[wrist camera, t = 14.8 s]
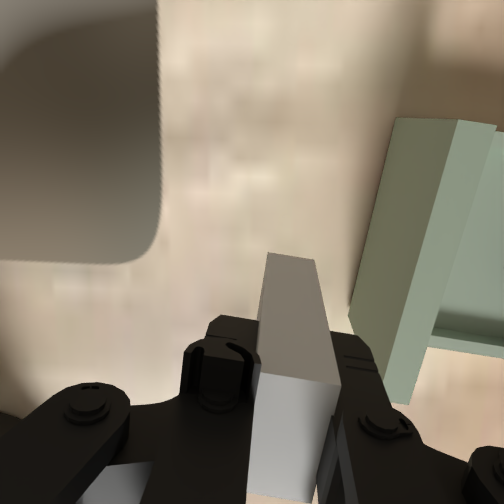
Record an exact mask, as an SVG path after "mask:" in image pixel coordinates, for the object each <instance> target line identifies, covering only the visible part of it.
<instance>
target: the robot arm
mask: <svg viewBox="0 0 504 504" xmlns="http://www.w3.org/2000/svg"><path fill="white" fill-rule="evenodd" d="M374 361H375V360H374V357H373V354H372V352H371V349H370V347H369V346H368V345H367V344H366V343H365V342H364V341H363V340H362V339H361V338H360V337H359V336H358V335H352V334H346V333H340V332H333V331H330V330H329V326H328V321H327V317H326V312H325V307H324V303H323V298H322V293H321V289H320V284H319V279H318V275H317V270H316V266H315V261H314V260H313V259H306V258H300V257H294V256H288V255H281V254H275V253H269V252H268V255H267V261H266V267H265V272H264V278H263V284H262V290H261V296H260V302H259V308H258V314H257V320H251V319H245V318H239V317H233V316H226V315H220V316H218V317H217V318H216V319H214V320H213V321H211V322H210V323H209V326H208V329H207V332H206V336H205V338H204V339H200V340H198V341H196V342H194V343H192V344H190V345H189V346H188V347H187V349H186V350H185V351H184V355H183V365H182V374H181V383H180V392H179V395H178V396H176V397H174V398H172V399H170V400H167V401H164V402H161V403H155V404H147V405H132V406H130V399H129V398H128V397H127V395H126V394H125V392H124V391H122V390H121V389H119V388H117V387H115V386H113V385H110V384H105V383H99V382H94V383H81V384H77V385H74V386H70V387H67V388H65V389H63V390H62V391H60V392H58V393H56V394H55V395H53V396H52V397H50V398H49V399H48V400H47V401H45V402H44V403H43V404H42V405H40V406H39V407H38V408H37V409H35V410H34V411H33V412H32V413H30V414H29V415H28V416H27V417H25V418H24V419H23V420H20V419H18V418H15V417H12V416H10V415H6V414H3V413H0V504H246V493H252V494H258V495H264V496H270V497H275V498H281V499H287V500H293V501H299V502H305V503H311V504H312V500H313V496H314V492H315V488H316V484H317V493H318V503H319V504H504V448H501V447H494V446H484V447H479V448H476V450H475V451H474V452H473V453H472V455H471V457H470V459H469V462H468V463H467V462H465V461H462V460H460V459H457V458H455V457H452V456H450V455H447V454H445V453H442V452H440V451H437V450H435V449H433V448H431V447H429V446H427V445H425V444H423V442H422V439H421V437H420V434H419V432H418V431H417V429H416V428H415V426H414V425H413V423H412V422H411V421H410V420H409V419H408V418H407V417H406V416H404V415H403V414H402V413H401V412H399V411H397V410H396V409H394V408H392V406H391V403H390V400H389V398H388V395H387V392H386V389H385V387H384V384H383V381H382V379H381V376H380V374H379V373H378V368H377V365H376V363H374Z"/></svg>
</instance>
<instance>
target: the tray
mask: <svg viewBox="0 0 504 504" xmlns="http://www.w3.org/2000/svg"><path fill="white" fill-rule="evenodd" d="M496 128H497V125H492V124H485V123H479V122H472V121H466V120H460V119H432V118H399V117H396V119H395V123H394V127H393V131H392V136H391V140H390V144H389V148H388V152H387V156H386V160H385V164H384V169H383V173H382V177H381V181H380V185H379V189H378V193H377V197H376V202H375V206H374V210H373V214H372V218H371V222H370V226H369V230H368V235H367V239H366V243H365V247H364V251H363V255H362V259H361V264H360V268H359V272H358V276H357V280H356V284H355V288H354V292H353V297H352V301H351V305H350V309H349V313H348V317H349V320H350V323H351V326H352V329H353V331H354V334H355V335H358V336H359V337H360V338H361V339H362V340H363V341H364V342H365V343H366V344H367V345H368V346H369V347H370V349H371V352H372V354H373V357H374V360H375V361H374V363H376V365H377V368H378V373H379V374H380V376H381V379H382V381H383V384H384V387H385V389H386V392H387V395H388V398H389V400H390V402H392V403H398V404H405V405H409V403H410V399H411V396H412V393H413V390H414V387H415V384H416V381H417V377H418V374H419V371H420V368H421V365H422V362H423V358H424V355H425V352H426V349H427V347H433V348H439V349H445V350H452V351H458V352H464V353H471V354H477V355H483V356H490V357H496V358H502V359H504V132H498V131H496Z"/></svg>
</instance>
